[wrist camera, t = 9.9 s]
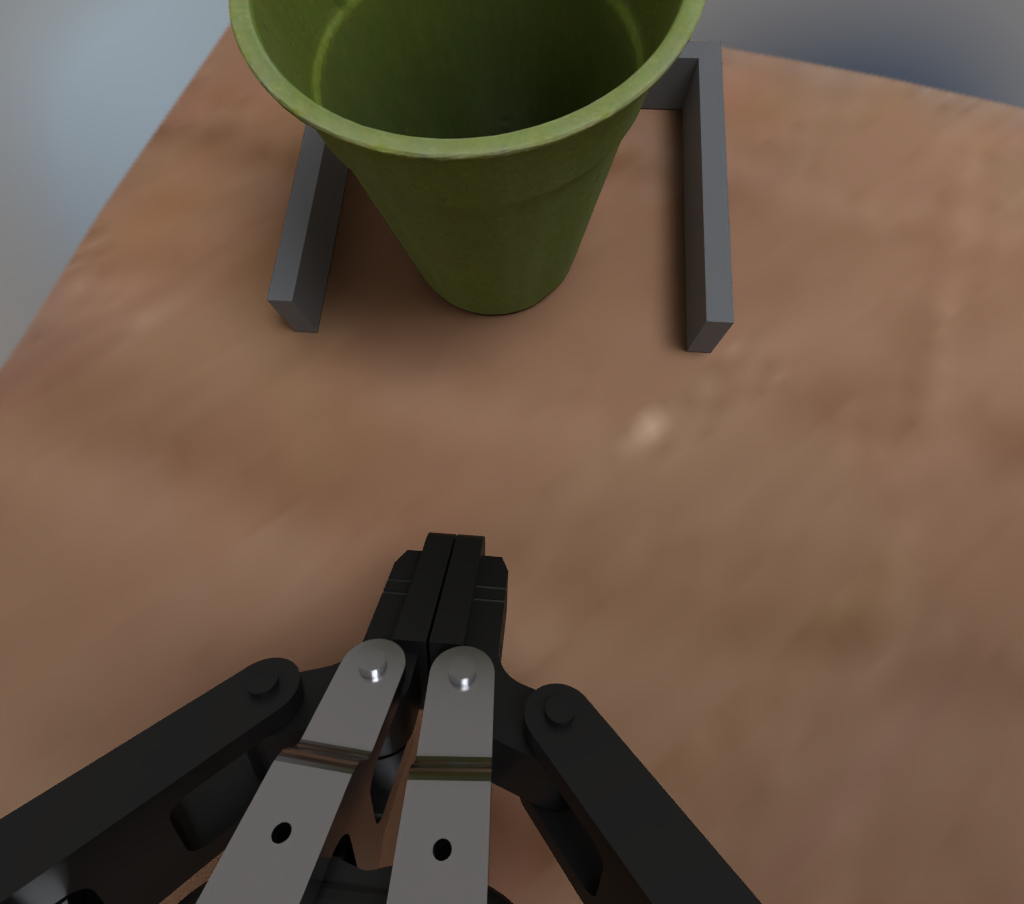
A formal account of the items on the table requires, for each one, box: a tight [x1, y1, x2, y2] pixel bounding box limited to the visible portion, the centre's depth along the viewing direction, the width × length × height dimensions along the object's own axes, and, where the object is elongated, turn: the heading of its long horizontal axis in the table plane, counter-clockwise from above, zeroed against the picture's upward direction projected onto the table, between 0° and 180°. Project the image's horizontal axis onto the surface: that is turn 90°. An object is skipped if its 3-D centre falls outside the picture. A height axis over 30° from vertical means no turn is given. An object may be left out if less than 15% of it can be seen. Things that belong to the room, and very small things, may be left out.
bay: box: [267, 41, 734, 353], centre depth 23 cm, size 18×14×2 cm
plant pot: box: [229, 0, 706, 315], centre depth 18 cm, size 12×12×11 cm
